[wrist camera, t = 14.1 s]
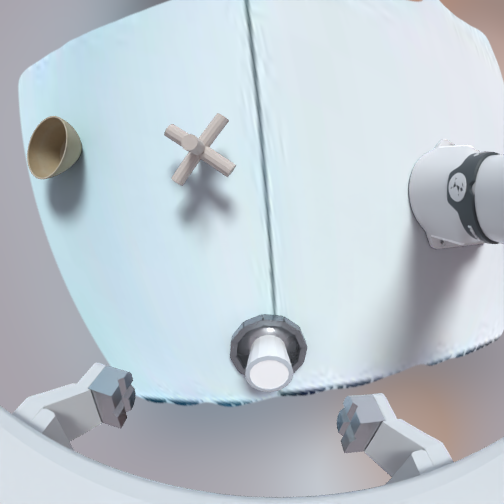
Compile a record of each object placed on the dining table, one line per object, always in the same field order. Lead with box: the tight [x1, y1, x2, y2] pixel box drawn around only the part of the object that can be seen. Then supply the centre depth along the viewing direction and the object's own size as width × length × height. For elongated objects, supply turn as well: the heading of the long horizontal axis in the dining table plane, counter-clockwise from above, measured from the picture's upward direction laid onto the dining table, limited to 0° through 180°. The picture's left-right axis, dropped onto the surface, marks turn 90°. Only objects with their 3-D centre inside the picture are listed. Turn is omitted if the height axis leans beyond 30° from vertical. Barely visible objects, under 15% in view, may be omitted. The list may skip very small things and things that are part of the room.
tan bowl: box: [27, 116, 82, 179], centre depth 33 cm, size 10×10×7 cm
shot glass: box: [245, 335, 294, 392], centre depth 39 cm, size 7×7×7 cm
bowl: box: [230, 314, 307, 375], centre depth 42 cm, size 12×12×2 cm
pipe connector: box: [164, 113, 236, 186], centre depth 32 cm, size 10×10×10 cm
